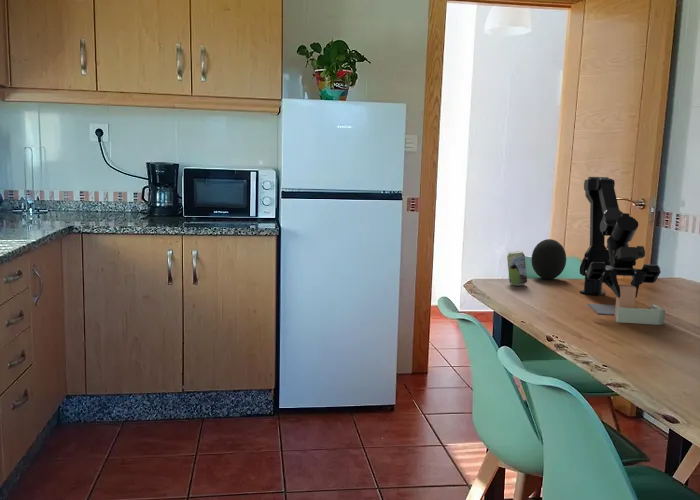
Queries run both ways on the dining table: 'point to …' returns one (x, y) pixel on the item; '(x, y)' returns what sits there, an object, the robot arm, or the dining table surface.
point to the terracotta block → (626, 297)
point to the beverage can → (517, 268)
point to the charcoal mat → (603, 309)
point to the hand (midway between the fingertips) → (627, 297)
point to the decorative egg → (548, 259)
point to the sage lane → (641, 315)
